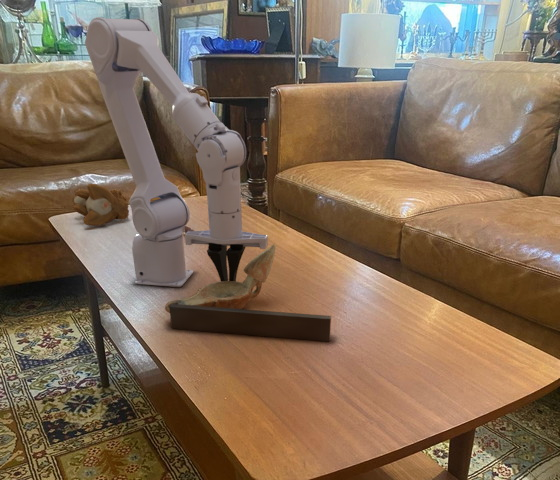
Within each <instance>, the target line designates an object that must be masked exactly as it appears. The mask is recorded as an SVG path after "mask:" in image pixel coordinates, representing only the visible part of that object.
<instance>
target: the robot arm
mask: <svg viewBox="0 0 560 480" xmlns="http://www.w3.org/2000/svg"><path fill="white" fill-rule="evenodd" d="M84 46H85V48H86V51H87V54H88V57H89V59H90V63H91V64H92V67H93V70H94V72H95V73H94V74H95V75H96V79H97V83H98V86H99V89H100V92H101V93H100V94H101V95H102V98H103V101H104V103H105V106H106V109H107V111H108V115H109V117H110V119H111V122H112V125H113V128H114V129H115V133H116V136H117V139H118V141H119V144H120V146H121V149H122V153H123V155H124V157H125V160H126V163H127V166H128V169H129V171H130V175H131V177H132V179H133V183H134V185H135V189H134V191H133V192H132V194H131V196H130V198H129V200H128V205H129V207H130V210H131V219H132V224H133V227H134V229H135V230H136V232H137V234H136V235H135V236H134V237H133V240H132V245H131V246H132V247H131V249H132V251H131V252H132V260H133V266H134V267H133V268H134V275H135V279H136V280H135V281H134V284H135V285H145V286H161V287H173V288H181V287H182V286H184V285H185V283H186V282H187V281H188V280H189V279H190V277H191V276H192V275H193V274H194V270H193V269H187V266H186V256H185V255H186V254H185V246H184V245H186V246H192V245H205V246H206V245H207V247H208V248H207V250H206V253H207V256H208V257H209V259H210V260H211V262H212V263H213V265H214V267H215V269H216V271H217V275H218V277H219V282H220V281H235V282H237V276H238V271H239V267H240V266H239V265H240V263H241V260H242V257H243V254H244V252H245V249H246V248H259V249H260V250H267V249H268V246H269V241H268V240H269V238H268V237H269V236H268V234H263V233H262V234H260V233H254V232H249V231H243V219H242V215H243V214H242V191H241V166H243V164H244V163H245V161H246V158H247V147H246V143H245V141H244V139H243V138H242V136H241V133H239V132H238V131H236V130H233V129H229V128H228V127H227V126H225V124H224V123H223V122H221V120H219V118H218V117H217V115H216V114H215V113H214V111H213V110H212V109H211V108H210V106H209V105H208V104H209V101H208V100H207V98H206V97H205V96H203V95H200V94H199V93H196V92H189V90H188V89H187V88H186V86H185V84H184V83H183V81H182V80H181V79H180V77H179V76H178V74H177V72H176V71H175V69H174V68H173V66H172V65H171V64H170V62H169V60H168V59H167V57H166V56H165V54H164V52H163V51H162V50H161V48H160V44H159V36H158V35H157V34H156V33H155V32H154V31H153V30H152V27H151V26H150V25H149V23H148V21H146V20H144V19H142V18H139V17H138V18H137V17H135V18H132V19H131V18H104V17H101V16H97V17H94V18H92V19H91V21H90V22H89V24H88V26H87V30H86V35H85V40H84ZM141 74H144V76H145V78H147V79H148V80H149V81H150V82H151V84H152V85H153V86H154V87H155V88H156V89H157V90H158V92H159V93H160V94H161V96H162V97H164V99H165V100H166V101H167V102H168V103H169V104H170V105H171V106H172V111H171V116H172V119H173V121H174V122H175V124H176V125H177V127H179V129H180V130H181V131H182V132H183V134H184V135H185V137H187V139H188V141H189V142H190V143H191V144H192V145H193V147H194V148H195V149H196V150H197V152H195V157H196V162H197V164H198V166H199V168H200V169H201V172H202V179H203V181H204V183H205V189H206V198H207V199H206V201H207V217H208V229H207V230H206V229H205V230H194V231H188V232H187V233H185V227H184V226H188V224H189V222H190V216H191V215H190V208H189V205H188V203H187V202H186V201H185V199H184V198H183V197H182V195H181V193H180V191H179V187H178V186H177V185H175V183H172V182H171V181H170V180H168V179H167V178H165V176H164V172H163V170H162V167H161V164H160V160H159V158H158V155H157V152H156V150H155V146H154V143H153V141H152V139H151V135H150V132H149V130H148V129H149V128H148V126H147V124H146V121H145V119H144V115H143V113H142V108H141V106H140V104H139V101H138V97H137V95H136V91H135V89H134V86H135V83H136V80H137V79H138V78H139V77H140V76H141ZM155 198H156V199H155ZM157 198H159V199H157ZM152 199H155V200H152ZM151 200H152V201H151ZM184 240H185V242H184ZM184 243H185V244H184ZM228 247H229V248H228Z"/></svg>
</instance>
